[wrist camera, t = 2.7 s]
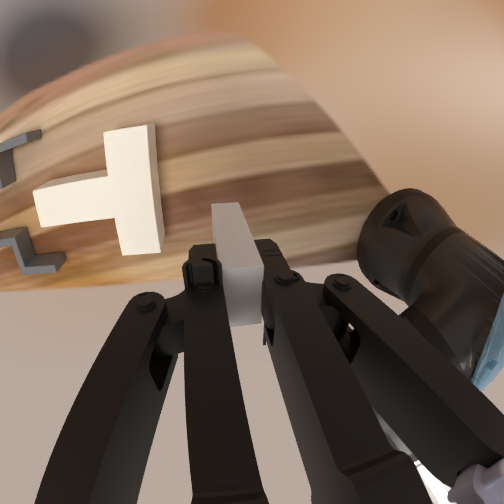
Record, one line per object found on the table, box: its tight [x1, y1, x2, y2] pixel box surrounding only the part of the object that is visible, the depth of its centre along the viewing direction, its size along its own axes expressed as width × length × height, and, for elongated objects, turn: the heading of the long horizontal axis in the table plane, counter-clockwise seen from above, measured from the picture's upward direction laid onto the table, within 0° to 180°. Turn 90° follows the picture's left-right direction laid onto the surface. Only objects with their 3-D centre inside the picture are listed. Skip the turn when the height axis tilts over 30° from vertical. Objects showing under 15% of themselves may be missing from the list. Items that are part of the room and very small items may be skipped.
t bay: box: [0, 130, 66, 275], centre depth 21 cm, size 16×16×3 cm
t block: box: [33, 124, 165, 255], centre depth 23 cm, size 13×12×4 cm
